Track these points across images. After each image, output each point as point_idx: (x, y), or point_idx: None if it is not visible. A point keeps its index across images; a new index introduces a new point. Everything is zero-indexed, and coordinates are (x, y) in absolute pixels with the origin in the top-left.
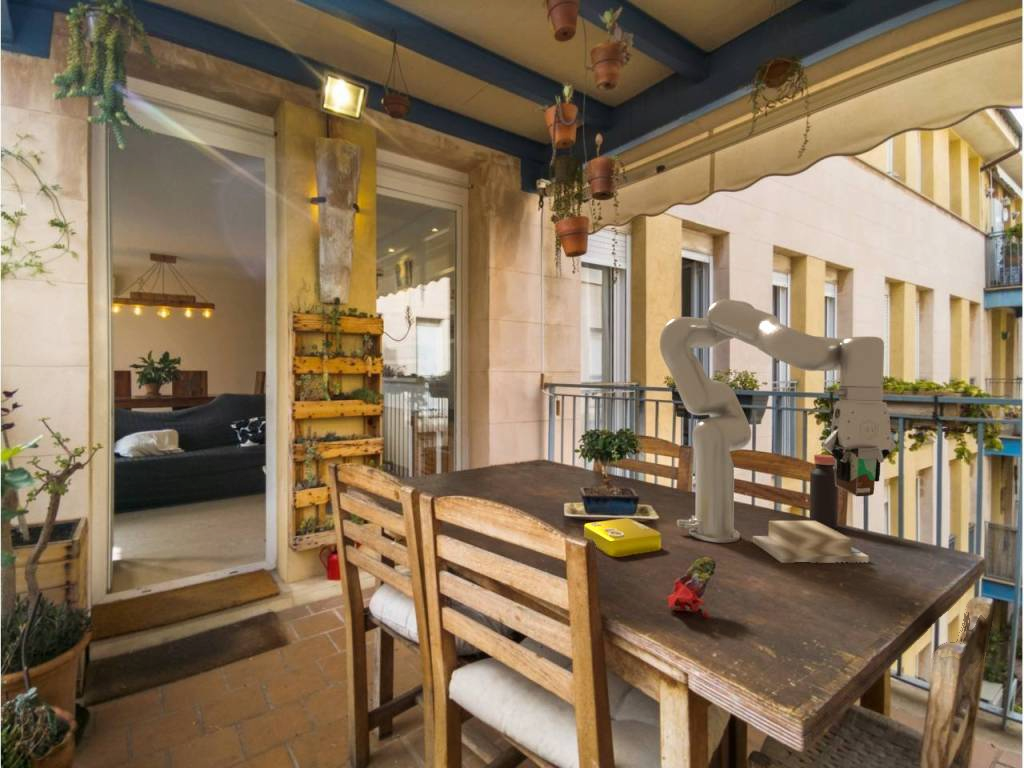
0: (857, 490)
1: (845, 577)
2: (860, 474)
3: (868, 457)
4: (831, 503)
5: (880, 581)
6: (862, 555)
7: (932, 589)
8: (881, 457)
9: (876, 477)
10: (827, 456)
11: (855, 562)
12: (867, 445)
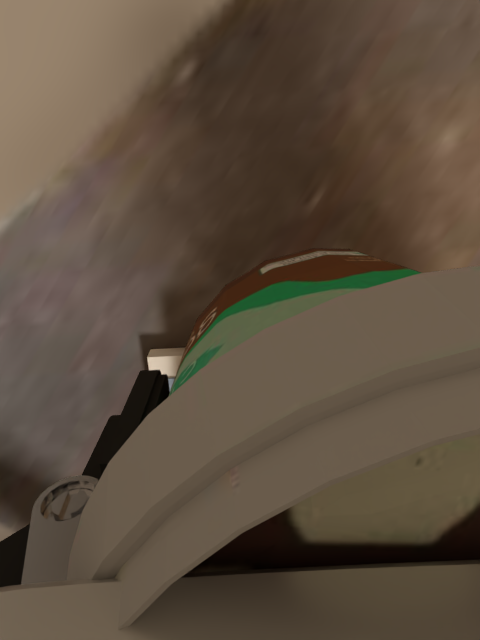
0: (358, 253)
1: (274, 247)
2: (394, 271)
3: (442, 283)
4: None
5: (194, 224)
6: (161, 361)
7: (82, 175)
8: (52, 523)
9: (154, 386)
10: None
11: (185, 347)
12: (341, 633)
